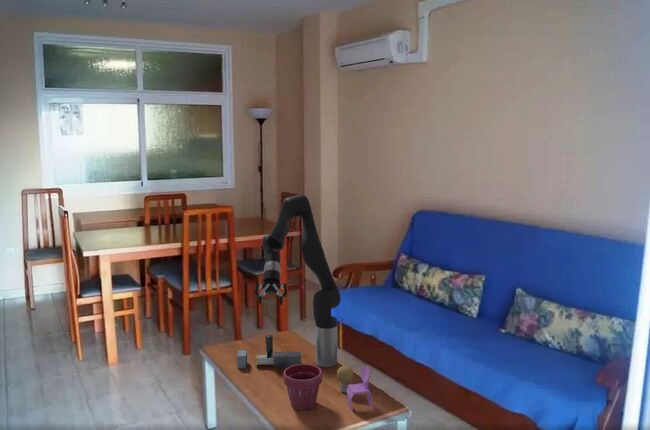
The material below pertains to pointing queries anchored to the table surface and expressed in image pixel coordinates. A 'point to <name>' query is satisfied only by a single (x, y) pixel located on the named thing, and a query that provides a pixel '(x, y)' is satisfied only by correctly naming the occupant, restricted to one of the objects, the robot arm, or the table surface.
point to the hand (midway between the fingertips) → (270, 305)
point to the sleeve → (286, 359)
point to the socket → (242, 359)
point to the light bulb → (344, 377)
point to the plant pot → (303, 385)
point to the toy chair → (360, 387)
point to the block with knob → (269, 355)
